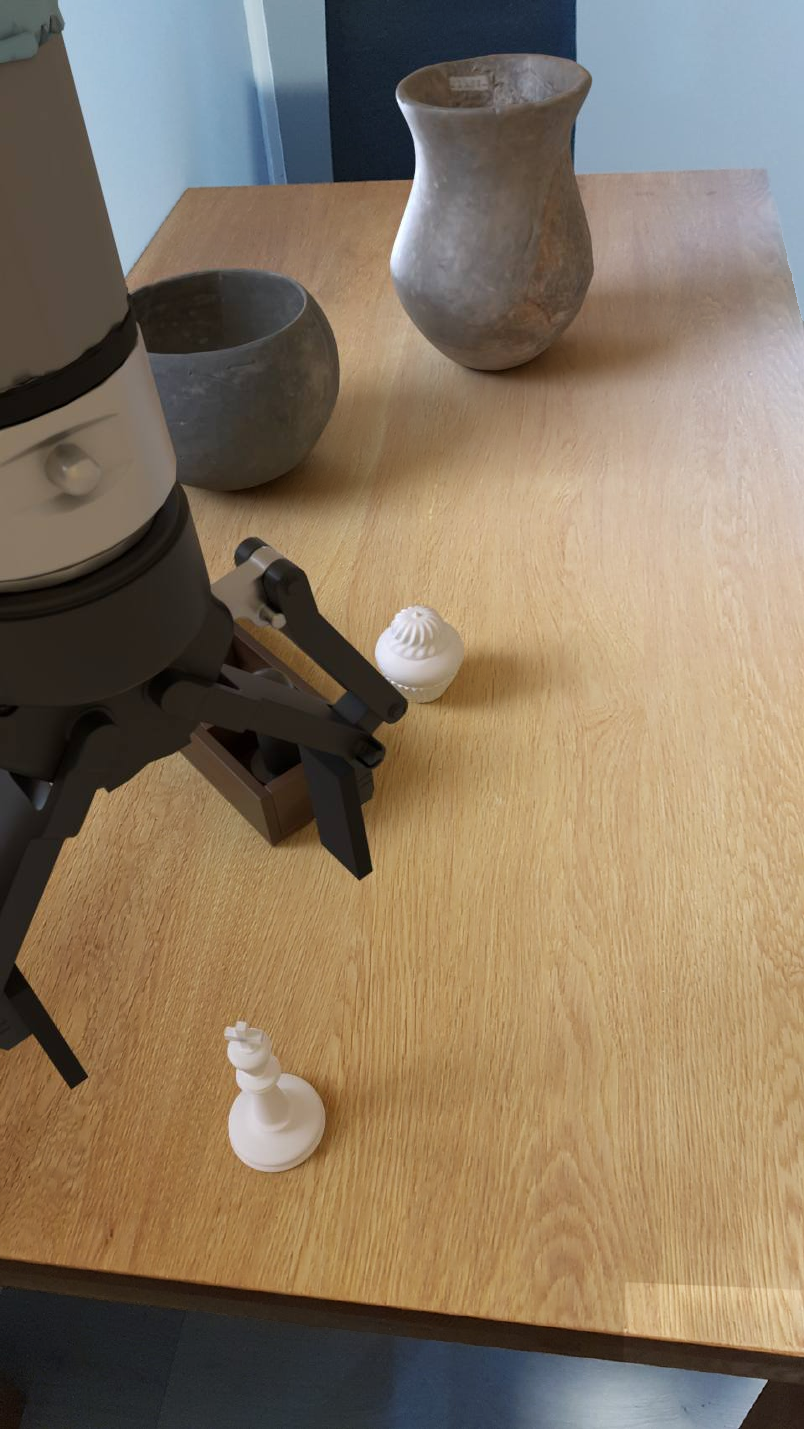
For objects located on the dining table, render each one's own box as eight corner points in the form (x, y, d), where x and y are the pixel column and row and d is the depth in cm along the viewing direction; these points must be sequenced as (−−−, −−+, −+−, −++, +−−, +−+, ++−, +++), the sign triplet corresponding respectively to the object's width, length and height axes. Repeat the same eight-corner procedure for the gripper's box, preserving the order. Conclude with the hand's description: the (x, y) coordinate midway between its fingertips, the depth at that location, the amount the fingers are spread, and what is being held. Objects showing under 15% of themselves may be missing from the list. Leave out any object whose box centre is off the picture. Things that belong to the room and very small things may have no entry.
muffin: (416, 647, 79) (409, 571, 74) (483, 679, 76) (481, 603, 71) (361, 695, 76) (350, 620, 71) (429, 731, 73) (423, 655, 68)
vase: (362, 354, 112) (332, 86, 94) (501, 294, 119) (498, 35, 101) (485, 425, 100) (478, 135, 82) (631, 354, 107) (654, 73, 90)
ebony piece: (278, 809, 68) (254, 712, 62) (240, 771, 71) (213, 675, 65) (333, 773, 70) (315, 675, 64) (294, 738, 73) (273, 640, 66)
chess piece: (244, 1071, 57) (204, 971, 50) (334, 1083, 56) (307, 983, 49) (217, 1164, 53) (170, 1071, 46) (313, 1179, 52) (280, 1086, 45)
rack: (273, 847, 67) (260, 800, 64) (99, 670, 80) (81, 623, 77) (373, 780, 70) (366, 731, 67) (191, 620, 83) (178, 573, 80)
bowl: (339, 528, 90) (314, 362, 80) (103, 535, 92) (48, 373, 82) (360, 405, 104) (342, 249, 94) (156, 413, 107) (115, 262, 96)
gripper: (-447, 861, 21) (-37, 1242, 36) (487, 378, 31) (503, 834, 46) (-504, 675, 25) (-117, 1084, 40) (331, 304, 35) (393, 743, 50)
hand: (214, 952), depth 43 cm, fingers open, 13 cm apart
